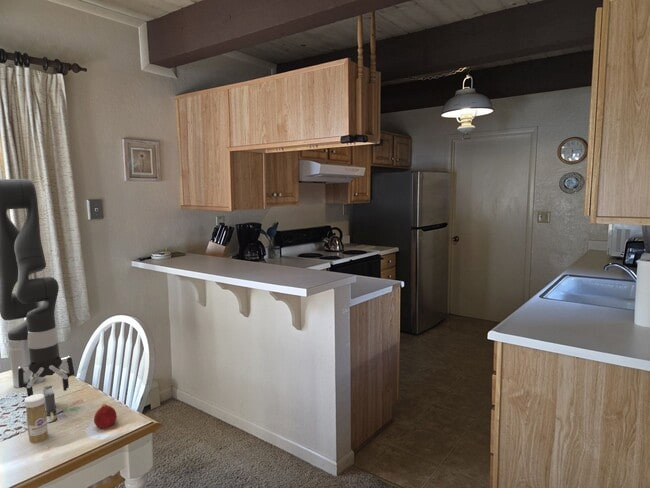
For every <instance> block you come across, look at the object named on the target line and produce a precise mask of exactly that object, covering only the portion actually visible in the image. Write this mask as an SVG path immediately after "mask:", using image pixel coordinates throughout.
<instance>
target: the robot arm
mask: <svg viewBox="0 0 650 488" xmlns="http://www.w3.org/2000/svg"><path fill="white" fill-rule="evenodd" d="M21 209H23V210H26V214H25V215H26V216H25V217H26V218H25V221H24V222H23V225H22V227H21V229H19V228H18V227H17V226H16V225H15V224H14V222H13V221H12V220H11V218H10V217H9V214H8V211H9V210H21ZM40 224H41V223H40V215H39V203H38V195H37V190H36V187H35V184H34V182H33V181H32V180H30V179H27V178H9V179H7V178H6V179H5V178H0V317H1V319H2V320H4V321H14V320H21V319H25V320H24V321H23V322H21V323H20V324H18V325H16V326H14V327H11V328H10V329H9V330H8V331H7V339H8V341H7V342H8V348H9V355H10V356H9V357H10V365H11V373H12V382H13V383H12V384H13V387H14V388H17V389H22V388H25V389H26V393H27V394H26V395H27V397H29V396H31V395H34V391H33V385H36V384H40V383H43V382H44V381H45V377H47V376H53V375H55V374H56V375H58V376H60V377H61V381H62V389H63V392H66V391H67V390H68V389H69V386H70V385H69V384H70V383H69V378H70V377H72V376H74V375H75V369H74V364H73V358H72V356H71V355H69V354H68V355H67V356H66V357H62V358H61V357H60V350H59V349H60V348H59V337H58V331H57V328H56V327H57V326H56V319H55V313H56V312H55V311H56V310H55V309H56V304H57V299H58V295H59V291H60V290H59V289H60V286H59V283H58V281H57V280H56V279H55V278H54V277H53V276H44V277H36V278H31V279H30V275H32V274H36V273H40V272H41V271H43V270H45V269H46V267H47V262H46V258H45V253H44V249H43V245H42V244H43V243H42V239H41V238H42V237H41V229H40V228H41V226H40ZM15 287H16V290H15V292H13V291H14V289H15ZM39 302H43V303H42V305H41V306H39ZM63 363H64V364H65V365H67V368H68V371H67V372H66V371H64V370H63V369H62V368H60V366H61V365H62V364H63Z"/></svg>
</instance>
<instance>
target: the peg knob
mask: <svg viewBox="0 0 650 488" xmlns="http://www.w3.org/2000/svg"><path fill="white" fill-rule="evenodd" d="M42 392H43V393H42V394H43V395H44V396H45V411H46V416H50V417H51V421H55V415H56V414H57V410H56V409H57V408H56V401H55V399H56V398H55V393H54V388H53V386H52V385H45V386H44V387H42Z"/></svg>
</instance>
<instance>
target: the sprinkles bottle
mask: <svg viewBox="0 0 650 488" xmlns="http://www.w3.org/2000/svg"><path fill="white" fill-rule="evenodd" d="M24 407H25V410H26V423H27V433H28V439H29V442H30V443H31V444H36V443H40V442H43V441H45V440H46V439H47V438H48V437H49V431H48V421H47V419H48V418H47V414H46V409H45V396H44V393H35V394H34V393H33V395H31V396H29V397H28V396H27V397H26V398H25V399H24Z"/></svg>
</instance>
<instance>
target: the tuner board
mask: <svg viewBox="0 0 650 488" xmlns="http://www.w3.org/2000/svg"><path fill="white" fill-rule="evenodd" d="M84 402H85V401H84V398H81V399H79V400H75V401H72V402H71V401H70V402H68V406H69V407H67V409H65V410H64V411H65V412H77V411H78V412H79V411H80V409H82V406H75V405H79V404H81V403H84ZM69 416H70V415H68V414H66V413H64V412H60V413H58V414H57V413H56V414H54V417H56V418H58V419H60V420H64V419H66V418H68V417H69Z"/></svg>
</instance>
